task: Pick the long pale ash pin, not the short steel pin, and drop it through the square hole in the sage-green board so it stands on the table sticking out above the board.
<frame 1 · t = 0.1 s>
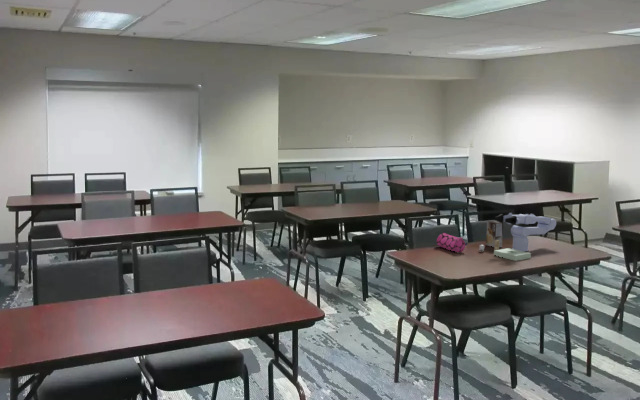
hand: (500, 219, 347), 22 cm above the table, tool horizontal, fingers open, 7 cm apart
board: (512, 256, 343), on the table
long pin: (496, 251, 357), on the table
coffee box: (493, 246, 373), on the table
pink foam roller: (450, 250, 361), on the table
short pin: (481, 251, 356), on the table
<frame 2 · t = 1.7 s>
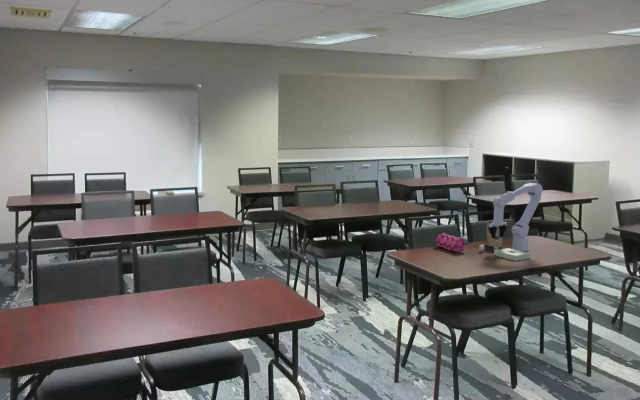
hand: (497, 237, 355), 9 cm above the table, tool pointing down, fingers open, 7 cm apart
nothing on the table moved.
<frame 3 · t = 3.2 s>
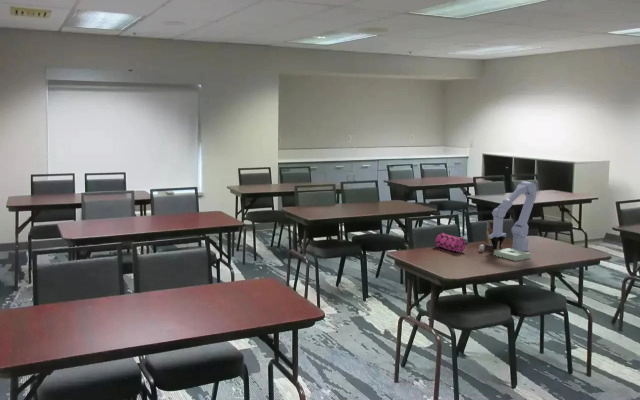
hand: (496, 248, 356), 2 cm above the table, tool pointing down, fingers closed on long pin, 3 cm apart
long pin: (496, 251, 357), on the table, touching gripper
everything else where it was.
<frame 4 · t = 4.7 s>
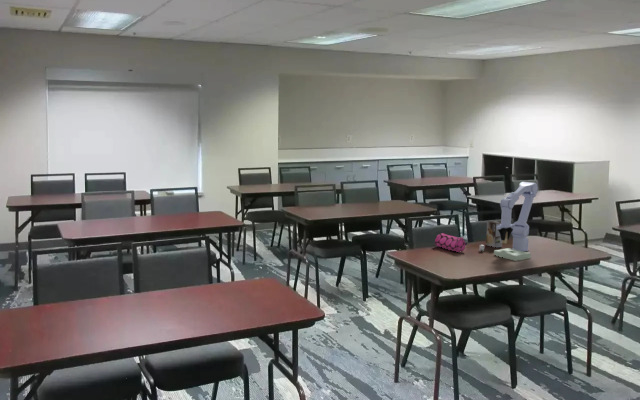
hand: (504, 239, 349), 9 cm above the table, tool pointing down, fingers closed on long pin, 3 cm apart
long pin: (504, 242, 349), point 7 cm above the table, touching gripper
everything else where it was.
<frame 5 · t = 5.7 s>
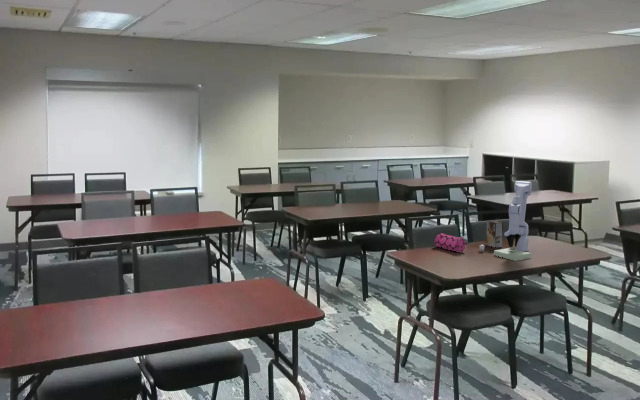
hand: (512, 246, 343), 6 cm above the table, tool pointing down, fingers closed on long pin, 3 cm apart
long pin: (512, 249, 343), point 4 cm above the table, touching gripper
everything else where it was.
when the fingers open (4 cm above the table, at t = 6.4 s): long pin drops 2 cm, resting in board.
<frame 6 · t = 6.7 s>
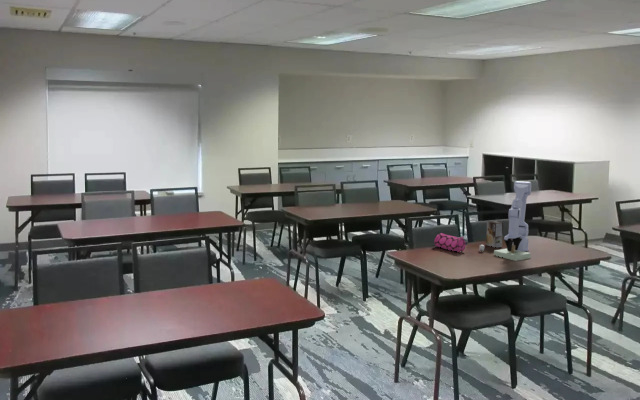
hand: (512, 250, 343), 4 cm above the table, tool pointing down, fingers open, 5 cm apart
long pin: (511, 256, 344), resting in board
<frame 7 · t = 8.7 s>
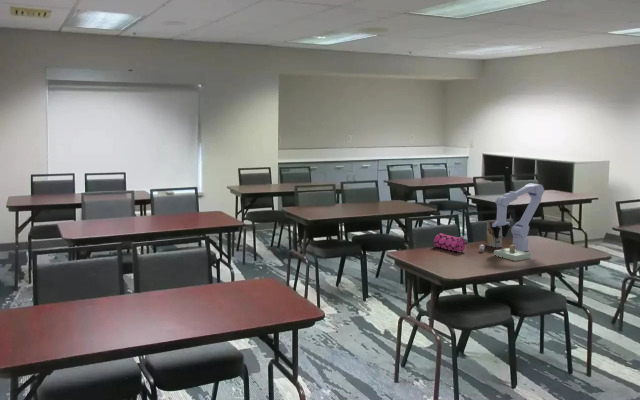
hand: (500, 237, 355), 9 cm above the table, tool pointing down, fingers open, 7 cm apart
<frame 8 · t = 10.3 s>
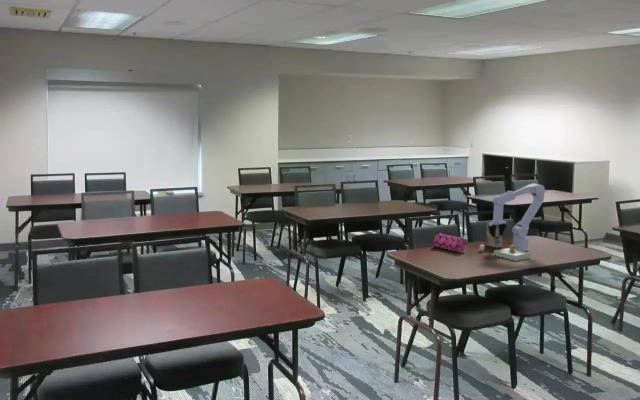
hand: (496, 236, 358), 9 cm above the table, tool pointing down, fingers open, 7 cm apart
at the end: long pin 0.1 cm off-centre on the board, point 0.0 cm above the board's base; long pin tilted 0°; short pin moved 0.0 cm from its start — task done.
